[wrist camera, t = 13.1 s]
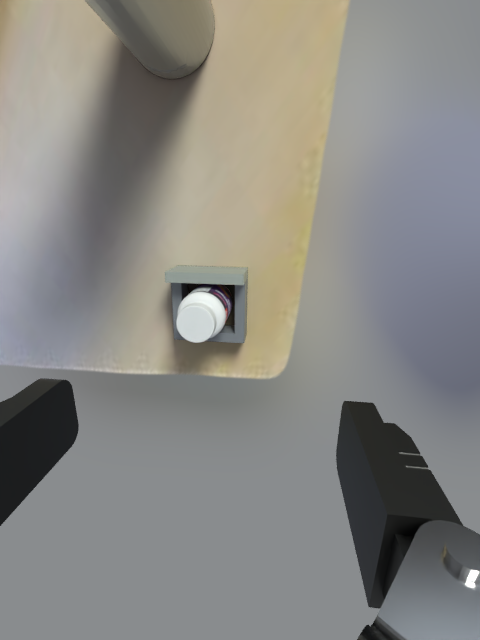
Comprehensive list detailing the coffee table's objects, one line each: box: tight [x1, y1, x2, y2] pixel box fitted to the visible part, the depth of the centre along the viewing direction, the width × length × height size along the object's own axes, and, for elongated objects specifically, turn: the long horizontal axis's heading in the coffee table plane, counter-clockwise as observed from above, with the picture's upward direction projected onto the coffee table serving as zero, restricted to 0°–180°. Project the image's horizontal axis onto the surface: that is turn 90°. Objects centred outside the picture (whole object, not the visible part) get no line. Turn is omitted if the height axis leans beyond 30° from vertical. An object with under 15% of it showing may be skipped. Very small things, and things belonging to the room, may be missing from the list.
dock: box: [165, 265, 248, 343], centre depth 40 cm, size 9×9×5 cm
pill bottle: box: [176, 284, 233, 343], centre depth 37 cm, size 5×5×10 cm
